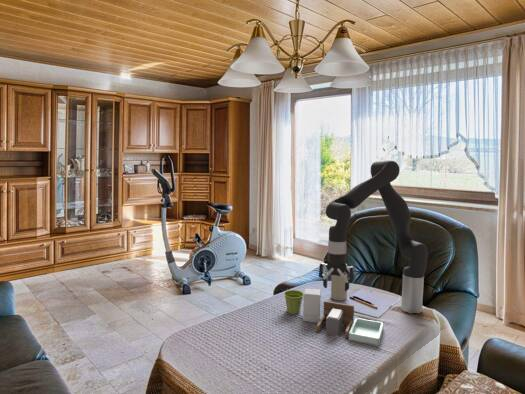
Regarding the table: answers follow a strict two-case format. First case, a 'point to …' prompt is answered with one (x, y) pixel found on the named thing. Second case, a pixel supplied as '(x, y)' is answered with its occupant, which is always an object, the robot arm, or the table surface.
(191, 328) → the table surface
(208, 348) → the table surface
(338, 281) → the travel mug
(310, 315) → the supplement box
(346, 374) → the table surface
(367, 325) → the tray
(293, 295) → the plant pot
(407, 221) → the robot arm
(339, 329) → the grey rectangular block
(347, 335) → the dock
